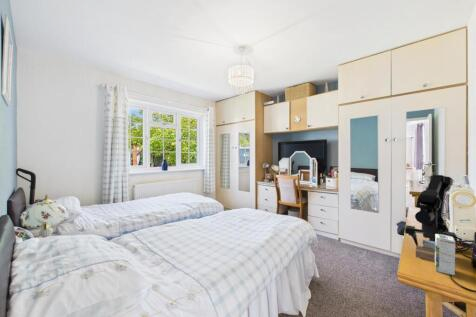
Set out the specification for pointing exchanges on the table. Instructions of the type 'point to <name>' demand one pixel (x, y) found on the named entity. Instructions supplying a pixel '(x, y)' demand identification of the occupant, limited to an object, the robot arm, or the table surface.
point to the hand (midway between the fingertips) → (429, 250)
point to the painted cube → (429, 244)
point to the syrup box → (445, 254)
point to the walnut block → (425, 253)
